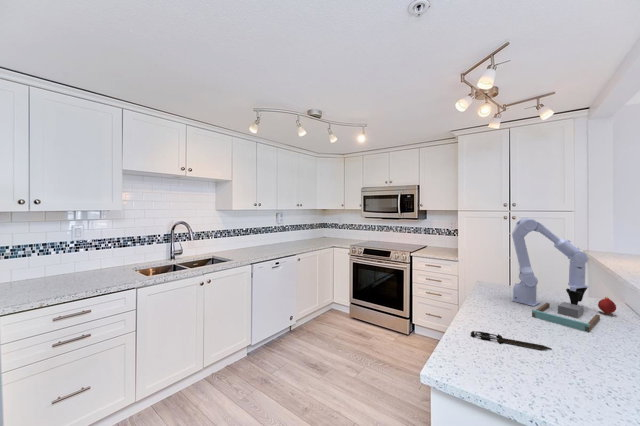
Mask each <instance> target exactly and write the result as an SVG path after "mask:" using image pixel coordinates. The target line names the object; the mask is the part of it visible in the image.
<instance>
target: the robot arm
mask: <svg viewBox="0 0 640 426" xmlns="http://www.w3.org/2000/svg"><path fill="white" fill-rule="evenodd" d="M533 231H534V232H537V233H540V234H541V235H543V236H544V237H545V238H547V239H548V240H550V241H551V242H552V243H553V244H554V245H553V246H554V248H555V249H557V251H559V252H561V253H562V254H563V255H564V256H565V257H567V259H568V260H569V264H568V265H569V266H568V269H569V270H568V271H569V272H568V273H569V274H568V286H569V288H566V289H565V291H566V292H567V295H568V297H569V300H570V301H569V302H570V303H571V304H575V305H578V304H579V302H580V303H582V302H583V297H584V296H585V295H584V294H585V293H586V291H587V290H588V288H589V285H587V284H586V263H588V262H589V258H588V256H587V254H586V253H585V252H583V251H580V248H579V247H576V245H573V243H571V242H572V241H570V240H568V239H565V238H560V237H558V235H556V234H555V233H553V232H552V231H551V230H550V229H549V228H547V227H546V225H544V224H542V223H541V222H539V221H537V220H536V219H534V218H531V217H530V218H529V217H522V218H520V219H519V220H518V221H517V222H516V225H515V226H514V229H513V231H512V234H511V237H512V240H513V245H514V248H515V254H516V259H517V262H518V266H519V274H518V279H519V283H514V285H513V289H512V292H513V293H512V302H516V303H520V304H523V305H527V306H532V307H535V306H536V305H538V304H540V302H539V301H537V289H538V288H537V287H538V286H537V285H538V283H539V280H538V278H537V277H536V276H535V273H534V270H533V268H532V266H531V265H532V264H531V261H530V256H529V252H528V248H527V244H526V239H525V237H527V235H528V234H529V233H531V232H533Z"/></svg>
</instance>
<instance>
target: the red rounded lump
mask: <svg viewBox="0 0 640 426" xmlns="http://www.w3.org/2000/svg"><path fill="white" fill-rule="evenodd" d="M597 307H598V308H599V309H600V311H602V312H603V313H604V314H605V315H610V314H613V313H615V312H616V310H617V305H616V303H615V302H614V301H613V300H611V299H610V298H609V297H607V296H605V297H604V298H602V299H600V300H599V301H598V303H597Z"/></svg>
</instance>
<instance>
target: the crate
mask: <svg viewBox="0 0 640 426" xmlns="http://www.w3.org/2000/svg"><path fill="white" fill-rule="evenodd" d="M557 314H560V315H563V316H568V317H569V318H575V319H579V318H580V317H582V316H583V315H584V305H578V304H577V305H575V304H571V302H570V303H569V302H566V301H563V302H561V303H559V304H558V305H557Z"/></svg>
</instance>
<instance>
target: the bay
mask: <svg viewBox="0 0 640 426" xmlns="http://www.w3.org/2000/svg"><path fill="white" fill-rule="evenodd" d="M550 307H551V305H550V303H549V302H545V303H544V304H542V305H540V306H539V307H538V308H536V309H532V310H531V311H532V312H531V316H532V317H533V318H536V319H540V320H543V321H547V322H552V323H555V324H558V325H561V326H566V327H569V328H573V329H576V330H579V331H584V332H587V333H589V332H591V330H592V329H593V328H594V327H595V326H596V325H597V323H598V322H600V320H601V315H600V314H597V313H596V314H595V315H594V316H592V318H591V319H590V320H589V321H588V322H584V321H580V320H576V319H571V318H569V317H564V316H560V315H556V314H551V313H548V312H545V311H547V309H549V308H550Z"/></svg>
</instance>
